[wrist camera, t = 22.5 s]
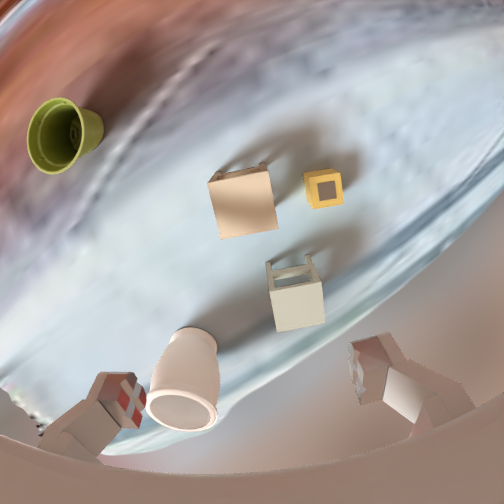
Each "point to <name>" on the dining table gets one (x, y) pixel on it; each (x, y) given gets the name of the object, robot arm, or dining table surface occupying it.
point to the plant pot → (62, 134)
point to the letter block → (323, 188)
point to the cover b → (296, 297)
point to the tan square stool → (243, 202)
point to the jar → (186, 382)
